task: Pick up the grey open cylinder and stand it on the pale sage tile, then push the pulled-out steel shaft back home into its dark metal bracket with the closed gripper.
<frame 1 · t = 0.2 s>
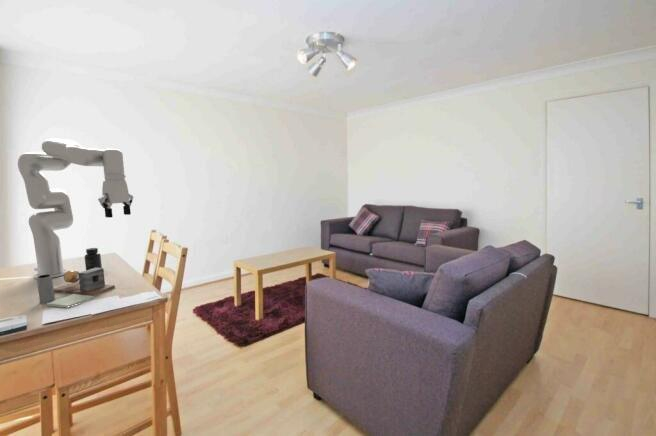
hand: (118, 215, 148), 31 cm above the table, tool pointing down, fingers open, 9 cm apart
shaft stand: (84, 289, 142), on the table
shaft: (79, 277, 142), point 6 cm above the table, slide at 7.0 cm
supplement bottle: (94, 271, 169), on the table
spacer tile: (71, 301, 129), on the table
grey open cylinder: (47, 301, 130), on the table
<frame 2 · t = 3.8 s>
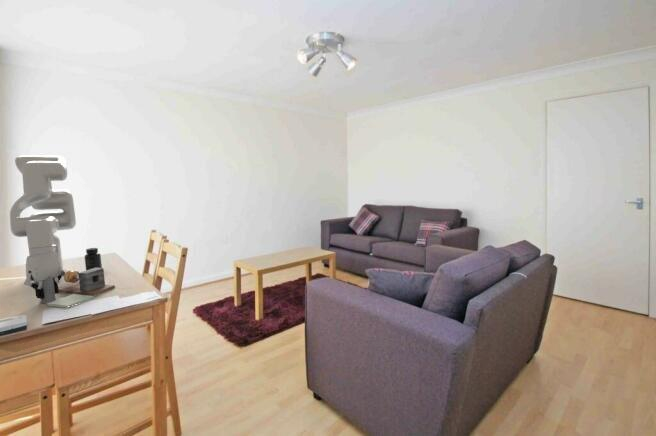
hand: (47, 295, 129), 2 cm above the table, tool pointing down, fingers closed on grey open cylinder, 4 cm apart
grey open cylinder: (48, 301, 130), on the table, touching gripper
everything else where it was.
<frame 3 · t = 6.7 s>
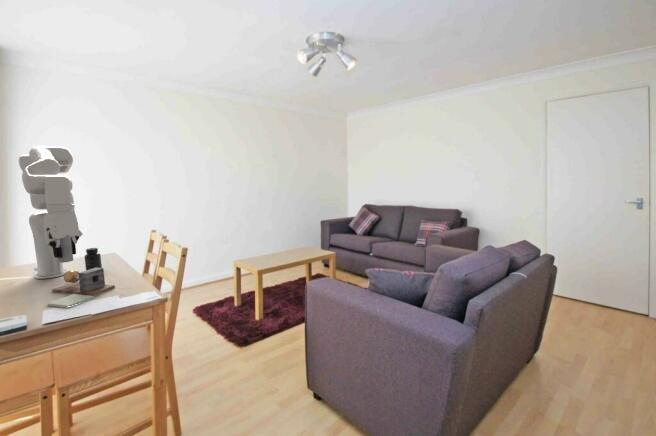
hand: (65, 255, 126), 19 cm above the table, tool pointing down, fingers closed on grey open cylinder, 4 cm apart
grey open cylinder: (66, 261, 126), point 16 cm above the table, touching gripper
everything else where it was.
when the fingers open (4 cm above the table, at t = 9.6 s): grey open cylinder stays where it is, resting on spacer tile.
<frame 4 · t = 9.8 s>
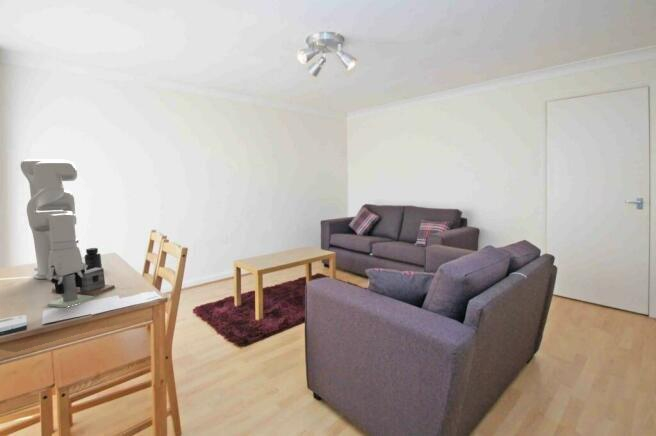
hand: (69, 289, 128), 5 cm above the table, tool pointing down, fingers open, 6 cm apart
grey open cylinder: (70, 299, 129), point 1 cm above the table, touching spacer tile
everything else where it was.
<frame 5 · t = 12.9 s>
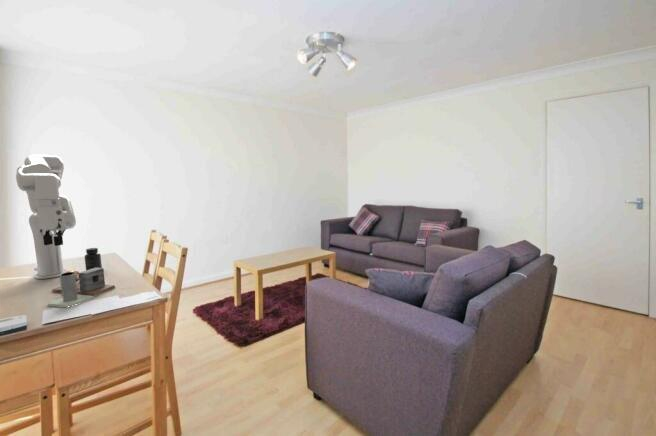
hand: (53, 244, 143), 19 cm above the table, tool pointing down, fingers open, 5 cm apart
nothing on the table moved.
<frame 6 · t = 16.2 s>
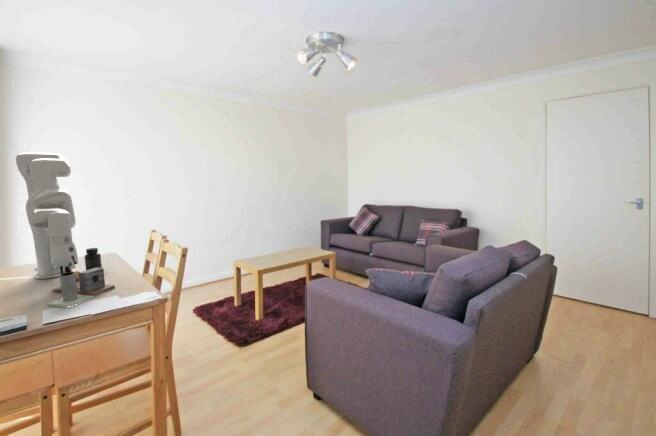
hand: (66, 281, 144), 3 cm above the table, tool pointing down, fingers closed
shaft: (81, 277, 141), point 6 cm above the table, slide at 6.2 cm, touching gripper
everything else where it was.
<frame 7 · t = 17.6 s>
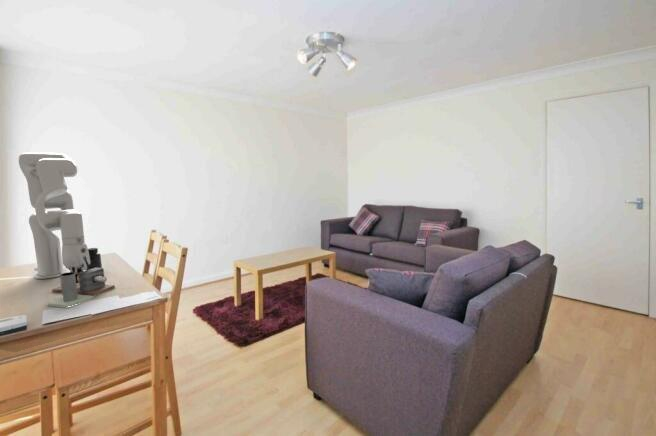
hand: (77, 282, 142), 3 cm above the table, tool pointing down, fingers closed
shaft: (93, 278, 140), point 5 cm above the table, slide at -0.3 cm, touching gripper, shaft stand
everything else where it was.
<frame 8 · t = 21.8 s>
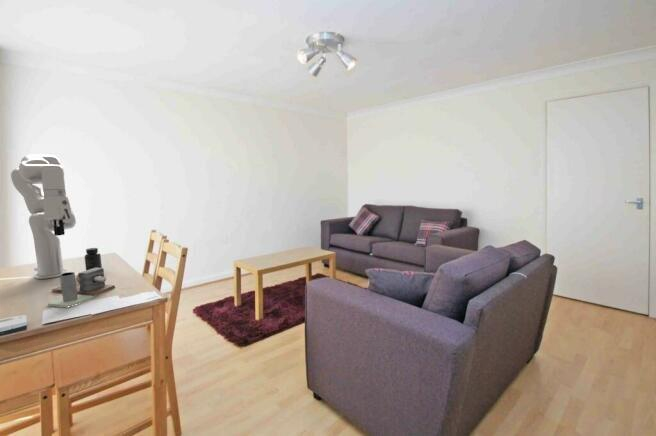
hand: (59, 234, 145), 23 cm above the table, tool pointing down, fingers closed
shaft: (92, 278, 140), point 6 cm above the table, slide at 0.0 cm
everything else where it was.
at the end: grey open cylinder 0.3 cm off-centre on the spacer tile, point 0.8 cm above the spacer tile's base; grey open cylinder tilted 0°; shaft slide at 0.0 cm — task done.
